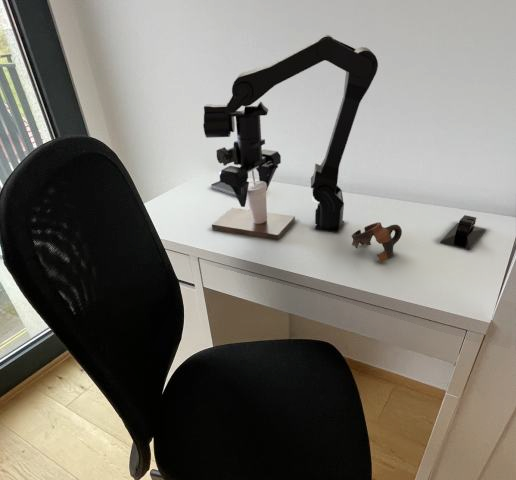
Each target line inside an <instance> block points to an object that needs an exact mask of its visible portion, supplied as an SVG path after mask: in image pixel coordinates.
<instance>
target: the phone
mask: <svg viewBox="0 0 516 480" xmlns="http://www.w3.org/2000/svg"><path fill="white" fill-rule="evenodd" d="M210 188H211V189H213V190H216V191H219V192H222V193H226V194H228V195H231V196H234V197H236V194H235V192H234V191H233V189H232V187H231V186H229V185H227V184H225V183H222V182H220V180H218V181H215V182H213V183H211V185H210Z"/></svg>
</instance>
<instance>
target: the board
mask: <svg viewBox="0 0 516 480" xmlns="http://www.w3.org/2000/svg"><path fill="white" fill-rule="evenodd" d="M295 222H296V216H295V215H288V214H282V213H275V212H267V221H266V222H264V223H260V224H257V223H254V221H253V218H252V214H251V211H250V209H247V208H246V209H245V208H238V207H231V208H229V209H228V210H227V211H226V212H225V213H223V214H222V215H221V216H220V217H219V218H218V219H217V220H215V221H214V222H212V224H211V229H212V230H214V231H219V232H224V233H232V234H238V235H243V236H250V237H256V238H262V239H268V240H274V241H279V240H280V239H281V238H282V237H283V236H284V234H285V233H286V232H287V231H288V230H289V229H290V228H291V227H292V225H293V224H294V223H295Z"/></svg>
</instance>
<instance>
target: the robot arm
mask: <svg viewBox="0 0 516 480" xmlns="http://www.w3.org/2000/svg"><path fill="white" fill-rule="evenodd" d="M324 61H326V62H328V63H329V64H332V65H334V66H335V67H337V68H339V69H341V70H343V71H345V77H344V85H343V97H342V99H341V103H340V105H339V109H338V113H337V115H336V119H335V122H334V126H333V129H332V132H331V136H330V139H329V142H328V146H327V149H326V151H325V152H326V153H325V156H324V158H323V160H322V162H321V164H318V163H315V164H314V169H313V170H314V171H313V174H312V176H311V177H310V188H311V189H312V196H313V198H314V200H315V201H317V202H318V203H317V208H315V210H314V211H315V212H314V213H315V214H314V215H315V217H314V224H315V225H314V229H315V230H317V231H324V232H331V233H339V231H340V230H341V228H342V227H343V226H344V224H345V220H344V208H345V201H344V195H343V190H342V189H341V188H340V187H339V185H338V180H339V170H340V165H341V161H342V158H343V156H344V152H345V150H346V146H347V143H348V141H349V140H348V139H349V138H350V135H351V131H352V128H353V125H354V122H355V119H356V116H357V112H358V109H359V106H360V104H361V102H362V100H363V99H364V97H365V95H366V94H367V92H368V90H369V89H370V87H371V85H372V82H373V81H374V79H375V77H376V74H377V73H378V69H379V62H378V61H379V60H378V58H377V56H376V54H374V52H373V51H372V50H371V49H370V48H368V47H366V46H365V47H363V46H361V47H359V48H354V47H353V46H350V45H349V44H346V43H344V42H342V41H339V40H337V39H335V38H334V37H333V36H331V35H330V34H323V35H321V36H320V37H319V38H318V39H316V40H314V41H313V42H310V43H308V44H307V45H305V46H303V47H302V48H300V49H298V50H296V51H294V52H292V53H290V54H288V55H286V56H284V57H282V58H280V59H279V60H276V61H275V62H274V63H271V64H268V65H266V66H261V67H256V68H253V69H250V70H246V71H243V72H241V73H240V74H239V75H238V76H237V77H236V79H235V80H234V81H233V83H232V86H231V95H232V96H231V98H229V99H228V101H227V102H226V104H205V105H204V106H203V111H204V112H203V125H202V126H203V131H204V135H205V138H206V139H209V138H210V139H212V138H230V137H231V133H234V132H235V130H236V139H237V140H235V141H233V144H232V145H233V147H230V148H228V149H227V148H226V147H225V146H224V147H221V148H218V149H216V151H215V152H216V160H217V162H218V163H219V164H222V165H223V166H227V165H228V164H232V163H233V165H229V166H227V167H225V168H223V169H221V170H220V172H219V173H218V174H219V181H220V182H222V183H225V184H227V185H229V186H231V187H232V189H233V191H234V192H235V194H236V196H235V197H236V199H237V201H238V204H239V205H240V207H242V208H245V207H246V203H247V192H248V186H249V183H250V182H249V181H248V179H249V173H250V172H251V171H252V170H253V171H254V170H256V171H257V173H258V179H259V180H258V181H264V182H266V184H267V189H266V192H267V191H268V189H269V186H270V184H271V182H272V179H273V177H274V175H275V173H276V172H277V171H276V170H277V169H278V168H279V165H280V164H281V163H282V156H281V154H280V153H279V151H277V150H272V149H271V150H270V149H263V147H262V146H263V145H266V139H265V138H262V128H261V127H262V126H261V116H267V115H268V114H269V113H268V112H269V108H268V107H266V106H265V104H263V102H262V101H259V102H258V104H257V105H253V104H254V103H256V102H257V101H258V100H259V99H261V98H262V97H263V96H264V95H266V94H267V93H269V91H270V90H271V89H273V88H274V87H275V86H277V85H278V84H281V83H282V82H284V81H287V80H288V79H291V78H293V77H294V76H297V75H298V74H300V73H303V72H304V71H307V70H308V69H311V68H312V67H315V66H316V65H319V64H320V63H322V62H324ZM241 107H244V109H242V110H240V108H241ZM235 126H236V127H235Z"/></svg>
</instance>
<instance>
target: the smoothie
mask: <svg viewBox="0 0 516 480" xmlns="http://www.w3.org/2000/svg"><path fill="white" fill-rule="evenodd" d="M250 172H251V177H252V181H250V182H249V186H248V192H247V199H246V202H247V205H248V208H249V210H250V211H251V214H252V218H253V221H254V223H257V224H260V223H264V222H266V221H267V213H268V206H267V204H268V203H267V202H268V201H267V191H266V189H267V184H266V182H264V181H259V180H256V178H255V177H256V176H255V171H254V170H252V171H250ZM267 190H268V189H267Z"/></svg>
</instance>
